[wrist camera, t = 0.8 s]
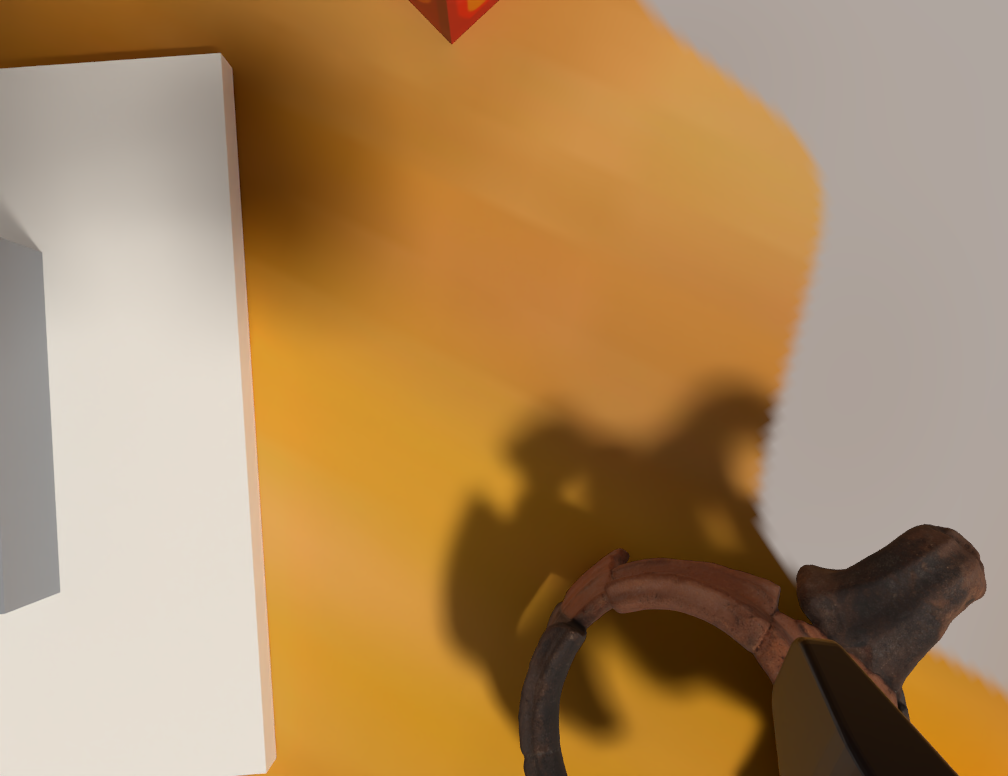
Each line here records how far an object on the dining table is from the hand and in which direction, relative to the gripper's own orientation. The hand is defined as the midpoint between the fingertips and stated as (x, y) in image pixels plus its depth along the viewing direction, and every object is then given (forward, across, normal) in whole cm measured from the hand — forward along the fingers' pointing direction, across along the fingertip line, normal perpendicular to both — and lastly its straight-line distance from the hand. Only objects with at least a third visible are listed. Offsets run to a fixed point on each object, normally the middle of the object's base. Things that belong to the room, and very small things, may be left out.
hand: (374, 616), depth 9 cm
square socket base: (+12, +16, +8) cm, 22 cm away
